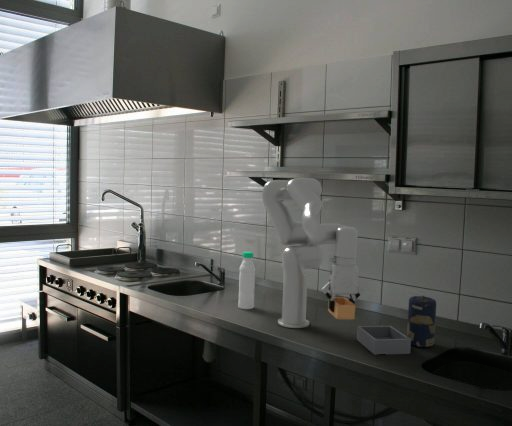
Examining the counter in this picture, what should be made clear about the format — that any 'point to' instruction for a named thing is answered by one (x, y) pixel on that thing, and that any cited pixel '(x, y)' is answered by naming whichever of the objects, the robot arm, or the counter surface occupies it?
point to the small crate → (343, 308)
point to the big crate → (383, 340)
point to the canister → (421, 321)
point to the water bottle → (246, 282)
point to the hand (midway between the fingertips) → (341, 310)
